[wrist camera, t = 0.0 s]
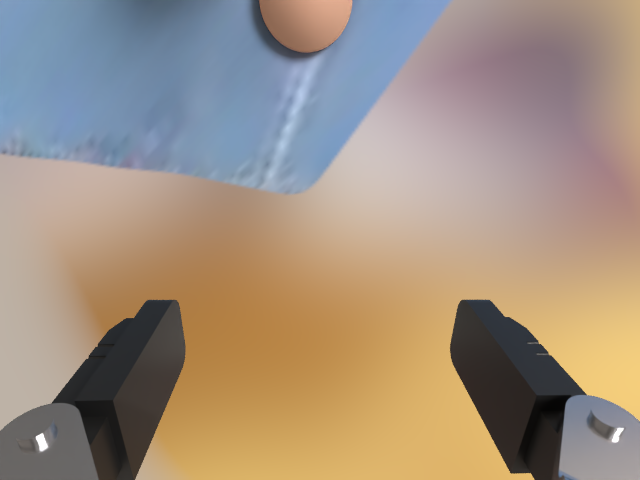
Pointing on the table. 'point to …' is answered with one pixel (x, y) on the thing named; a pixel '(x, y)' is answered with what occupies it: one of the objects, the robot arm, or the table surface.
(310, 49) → the peach round disc
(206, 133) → the table surface
